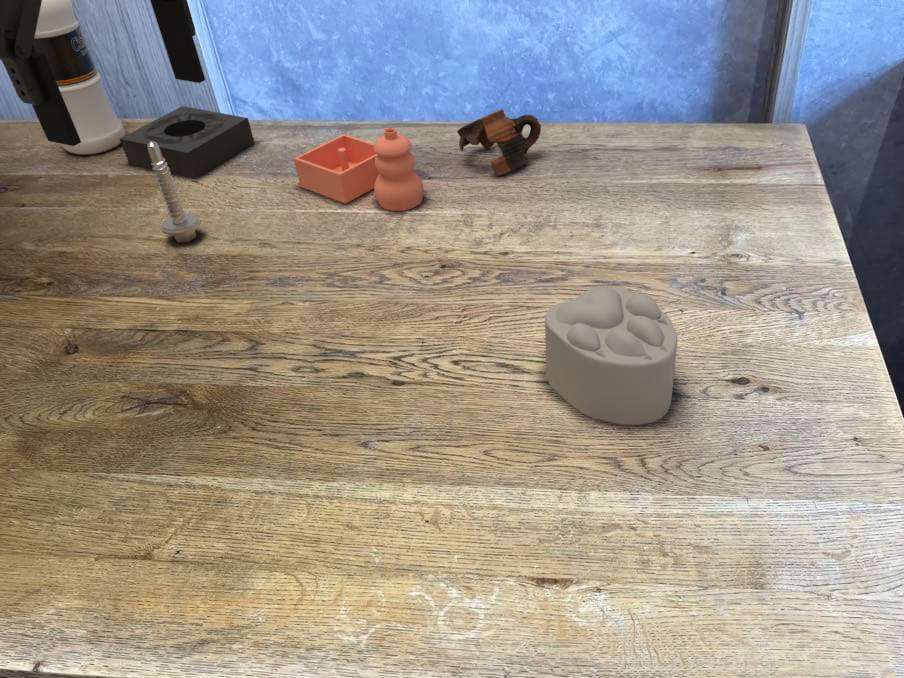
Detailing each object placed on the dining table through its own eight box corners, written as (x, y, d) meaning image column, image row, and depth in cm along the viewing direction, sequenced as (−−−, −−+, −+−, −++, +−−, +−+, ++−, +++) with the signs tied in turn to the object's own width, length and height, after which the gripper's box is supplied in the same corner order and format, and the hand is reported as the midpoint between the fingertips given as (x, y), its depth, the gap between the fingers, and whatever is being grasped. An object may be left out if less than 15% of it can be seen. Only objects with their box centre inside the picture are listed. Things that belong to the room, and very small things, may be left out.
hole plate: (129, 164, 122) (119, 138, 119) (190, 130, 130) (182, 105, 128) (196, 179, 117) (187, 152, 115) (254, 143, 126) (248, 117, 124)
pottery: (300, 186, 115) (283, 118, 108) (349, 161, 120) (336, 95, 114) (393, 221, 107) (382, 150, 100) (441, 193, 112) (433, 123, 106)
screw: (172, 251, 102) (161, 236, 106) (210, 239, 104) (198, 224, 108) (135, 153, 94) (124, 139, 97) (177, 142, 96) (165, 128, 99)
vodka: (59, 141, 129) (-35, -76, 109) (121, 127, 132) (40, -85, 112) (68, 162, 123) (-30, -63, 103) (132, 147, 126) (49, -73, 106)
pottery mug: (480, 186, 114) (454, 129, 112) (472, 187, 123) (448, 134, 121) (557, 150, 115) (533, 93, 113) (543, 153, 124) (521, 100, 122)
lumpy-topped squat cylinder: (610, 334, 87) (612, 264, 81) (698, 396, 79) (708, 323, 74) (532, 373, 83) (529, 302, 77) (618, 443, 75) (622, 370, 69)
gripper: (-139, -192, 43) (37, 182, 57) (193, -235, 60) (266, 63, 74) (-225, -195, 45) (-35, 164, 60) (117, -235, 62) (202, 53, 76)
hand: (132, 109), depth 67 cm, fingers open, 13 cm apart
